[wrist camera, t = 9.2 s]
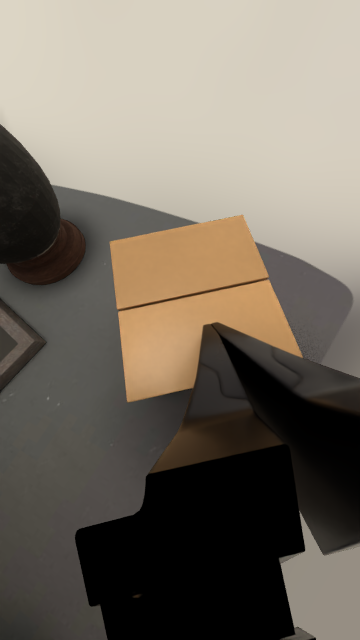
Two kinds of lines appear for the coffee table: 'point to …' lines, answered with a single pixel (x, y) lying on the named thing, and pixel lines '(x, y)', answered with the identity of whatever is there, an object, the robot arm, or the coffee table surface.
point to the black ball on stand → (33, 220)
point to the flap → (193, 335)
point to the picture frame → (15, 344)
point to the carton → (184, 262)
